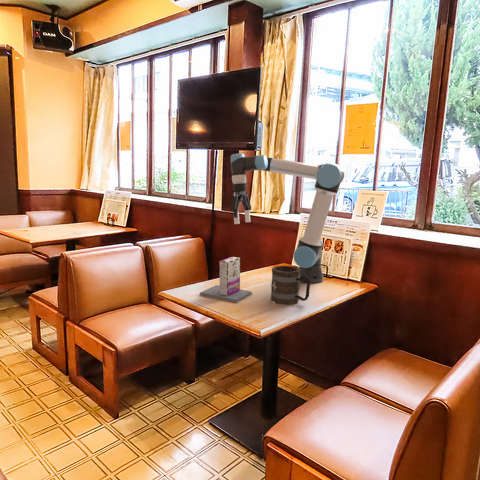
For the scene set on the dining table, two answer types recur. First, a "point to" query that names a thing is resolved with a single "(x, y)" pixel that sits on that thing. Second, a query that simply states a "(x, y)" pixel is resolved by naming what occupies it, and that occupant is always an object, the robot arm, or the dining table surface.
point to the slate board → (235, 297)
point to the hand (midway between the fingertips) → (242, 223)
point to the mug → (287, 285)
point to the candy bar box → (229, 276)
